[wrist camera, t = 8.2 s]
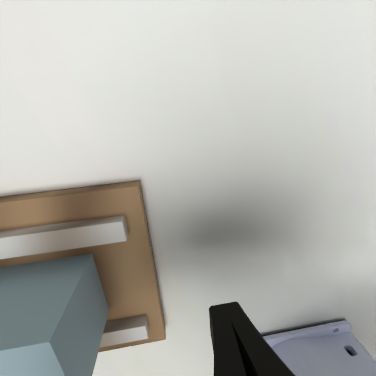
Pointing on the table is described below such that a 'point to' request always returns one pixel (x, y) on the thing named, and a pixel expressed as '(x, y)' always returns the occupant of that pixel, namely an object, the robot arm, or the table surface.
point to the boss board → (93, 250)
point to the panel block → (51, 317)
